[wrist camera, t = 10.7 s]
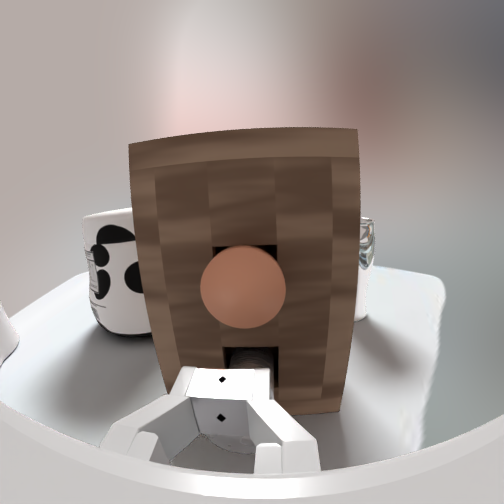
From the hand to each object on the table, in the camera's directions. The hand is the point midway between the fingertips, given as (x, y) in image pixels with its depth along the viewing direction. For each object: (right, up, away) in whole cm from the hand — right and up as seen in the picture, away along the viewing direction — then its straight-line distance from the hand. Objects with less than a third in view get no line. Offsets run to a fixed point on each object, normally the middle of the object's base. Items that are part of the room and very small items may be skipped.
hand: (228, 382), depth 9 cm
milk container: (-17, -7, +34) cm, 39 cm away
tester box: (+1, -10, +19) cm, 21 cm away
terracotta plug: (+1, +1, +13) cm, 13 cm away
